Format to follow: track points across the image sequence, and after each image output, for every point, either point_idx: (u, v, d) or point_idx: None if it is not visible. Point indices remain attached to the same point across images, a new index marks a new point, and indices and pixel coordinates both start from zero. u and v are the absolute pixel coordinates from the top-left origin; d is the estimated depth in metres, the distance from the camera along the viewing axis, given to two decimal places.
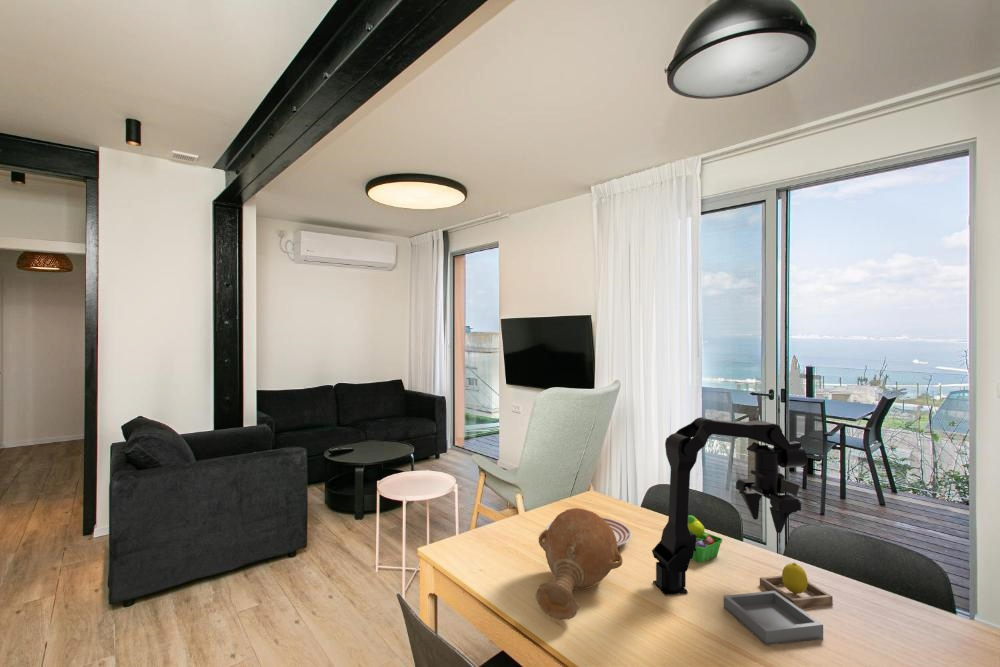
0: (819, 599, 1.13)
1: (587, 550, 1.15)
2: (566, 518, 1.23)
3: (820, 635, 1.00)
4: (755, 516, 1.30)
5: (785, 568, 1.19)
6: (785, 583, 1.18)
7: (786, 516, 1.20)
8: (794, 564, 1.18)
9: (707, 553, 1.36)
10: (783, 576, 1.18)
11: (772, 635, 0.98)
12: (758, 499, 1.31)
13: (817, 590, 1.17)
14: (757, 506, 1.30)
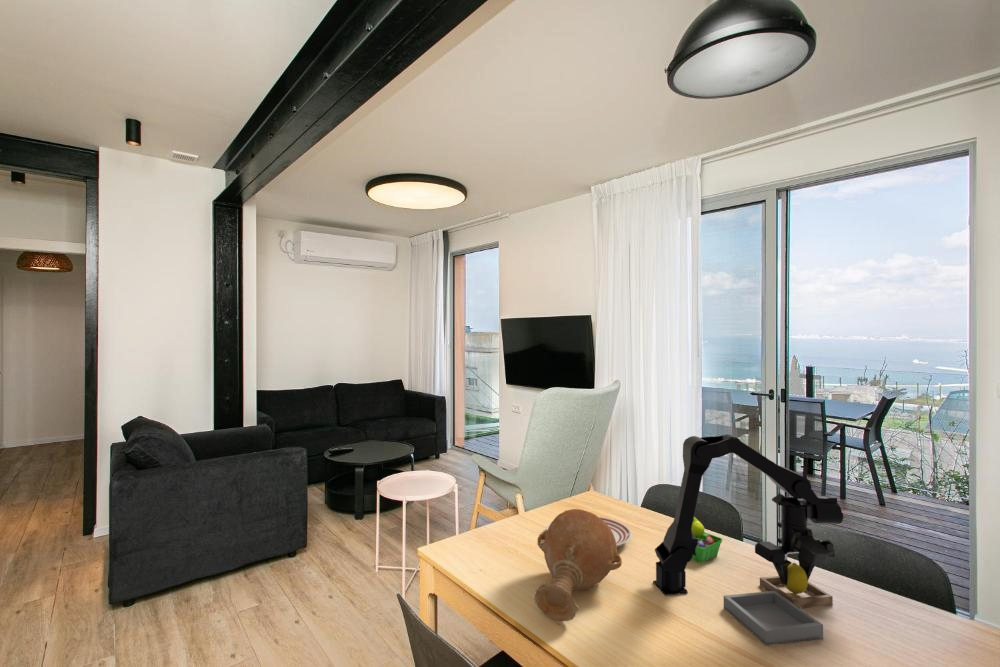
0: (819, 599, 1.13)
1: (586, 551, 1.15)
2: (564, 519, 1.23)
3: (820, 635, 1.00)
4: None
5: None
6: None
7: (781, 568, 1.17)
8: (794, 564, 1.18)
9: (707, 553, 1.36)
10: None
11: (772, 635, 0.98)
12: (809, 563, 1.18)
13: (817, 590, 1.17)
14: (806, 569, 1.18)
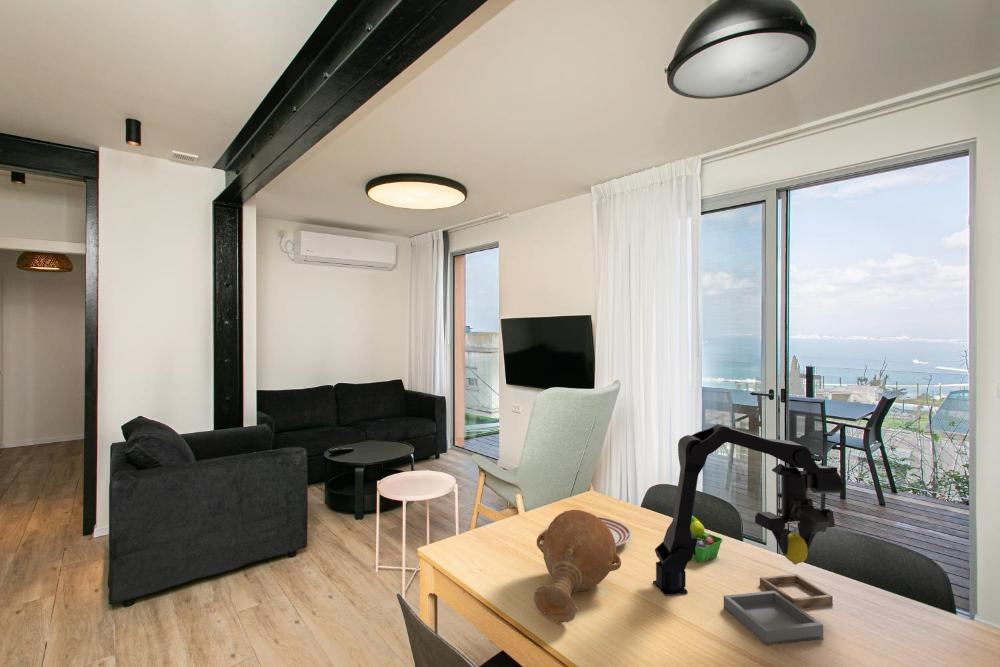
0: (819, 599, 1.13)
1: (585, 552, 1.14)
2: (564, 520, 1.22)
3: (820, 635, 1.00)
4: None
5: None
6: None
7: (781, 537, 1.17)
8: (794, 534, 1.18)
9: (707, 553, 1.36)
10: None
11: (772, 635, 0.98)
12: (809, 532, 1.18)
13: (817, 590, 1.17)
14: (807, 539, 1.18)
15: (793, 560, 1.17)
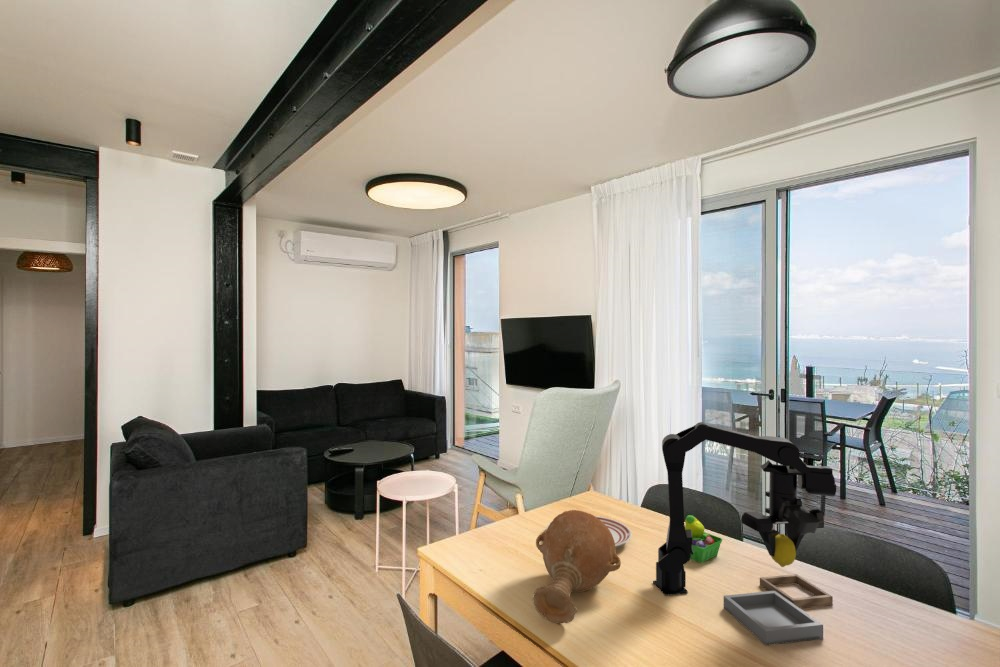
0: (819, 599, 1.13)
1: (585, 552, 1.14)
2: (563, 520, 1.22)
3: (820, 635, 1.00)
4: None
5: None
6: None
7: (769, 538, 1.11)
8: (782, 535, 1.12)
9: (707, 553, 1.36)
10: None
11: (772, 635, 0.98)
12: (797, 533, 1.12)
13: (817, 590, 1.17)
14: (795, 540, 1.13)
15: (780, 562, 1.11)
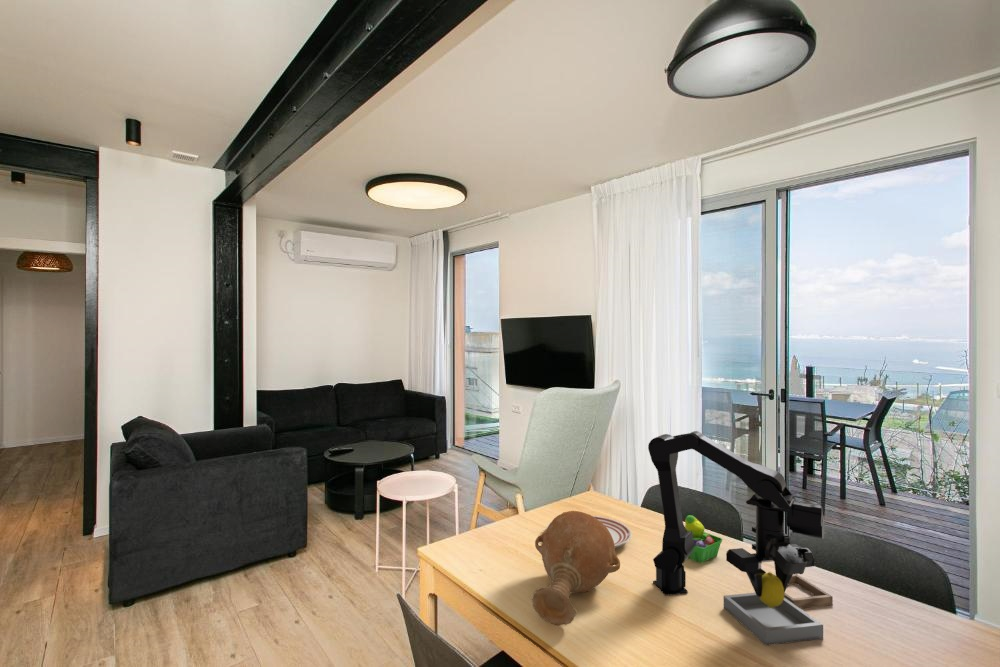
0: (819, 599, 1.13)
1: (584, 553, 1.13)
2: (562, 521, 1.21)
3: (820, 635, 1.00)
4: None
5: None
6: None
7: (755, 577, 1.05)
8: (770, 574, 1.06)
9: (707, 553, 1.36)
10: None
11: (772, 635, 0.98)
12: None
13: (817, 590, 1.17)
14: (783, 579, 1.06)
15: (768, 603, 1.05)
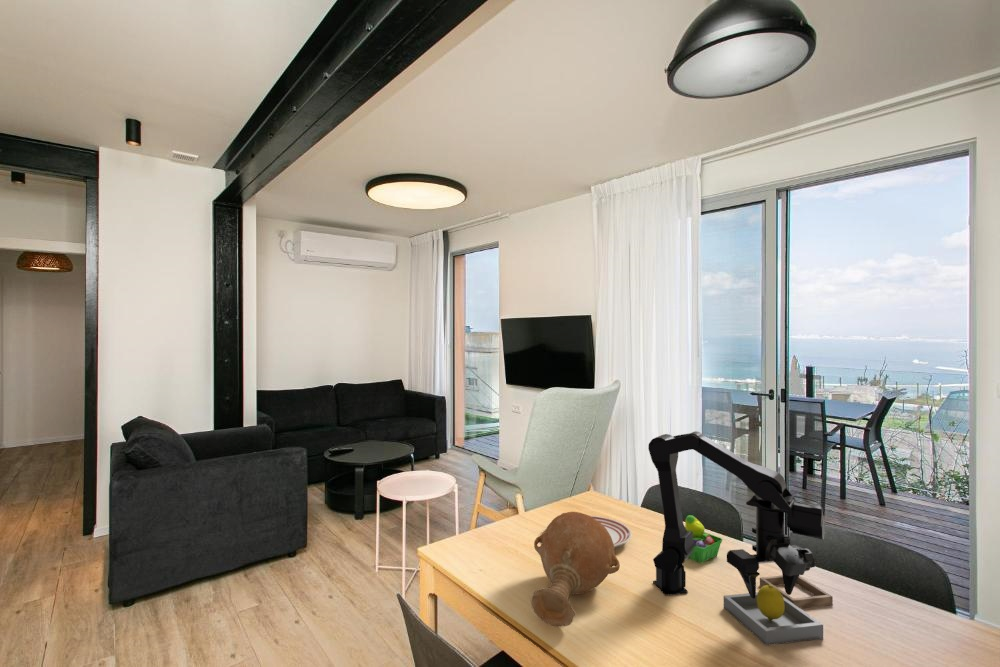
0: (819, 599, 1.13)
1: (583, 554, 1.13)
2: (562, 522, 1.21)
3: (820, 635, 1.00)
4: (786, 590, 1.07)
5: (760, 590, 1.07)
6: (760, 607, 1.06)
7: (749, 579, 1.04)
8: (770, 586, 1.06)
9: (707, 553, 1.36)
10: (758, 599, 1.06)
11: (772, 635, 0.98)
12: None
13: (817, 590, 1.17)
14: (790, 580, 1.07)
15: (768, 616, 1.04)
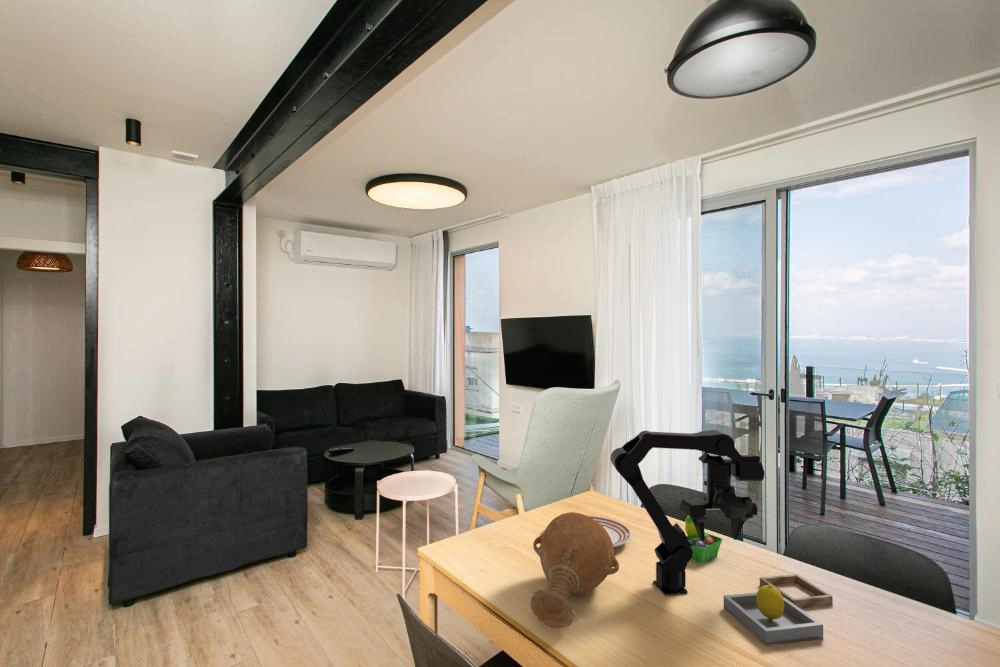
0: (819, 599, 1.13)
1: (582, 555, 1.12)
2: (561, 523, 1.20)
3: (820, 635, 1.00)
4: (733, 535, 1.21)
5: (760, 590, 1.07)
6: (759, 607, 1.06)
7: (698, 524, 1.19)
8: (769, 586, 1.06)
9: (707, 553, 1.36)
10: (757, 599, 1.06)
11: (772, 635, 0.98)
12: (738, 520, 1.20)
13: (817, 590, 1.17)
14: (736, 526, 1.20)
15: (768, 616, 1.04)
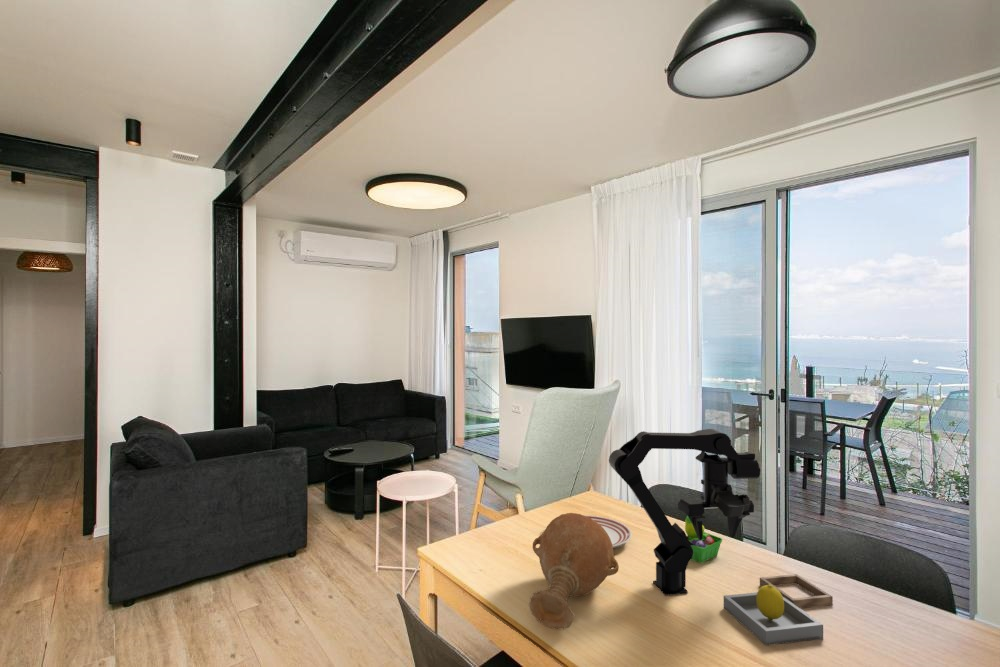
0: (819, 599, 1.13)
1: (582, 556, 1.12)
2: (560, 523, 1.20)
3: (820, 635, 1.00)
4: (730, 533, 1.22)
5: (760, 590, 1.07)
6: (759, 607, 1.06)
7: (696, 523, 1.19)
8: (769, 586, 1.06)
9: (707, 553, 1.36)
10: (757, 599, 1.06)
11: (772, 635, 0.98)
12: (735, 518, 1.21)
13: (817, 590, 1.17)
14: (733, 524, 1.21)
15: (768, 616, 1.04)
